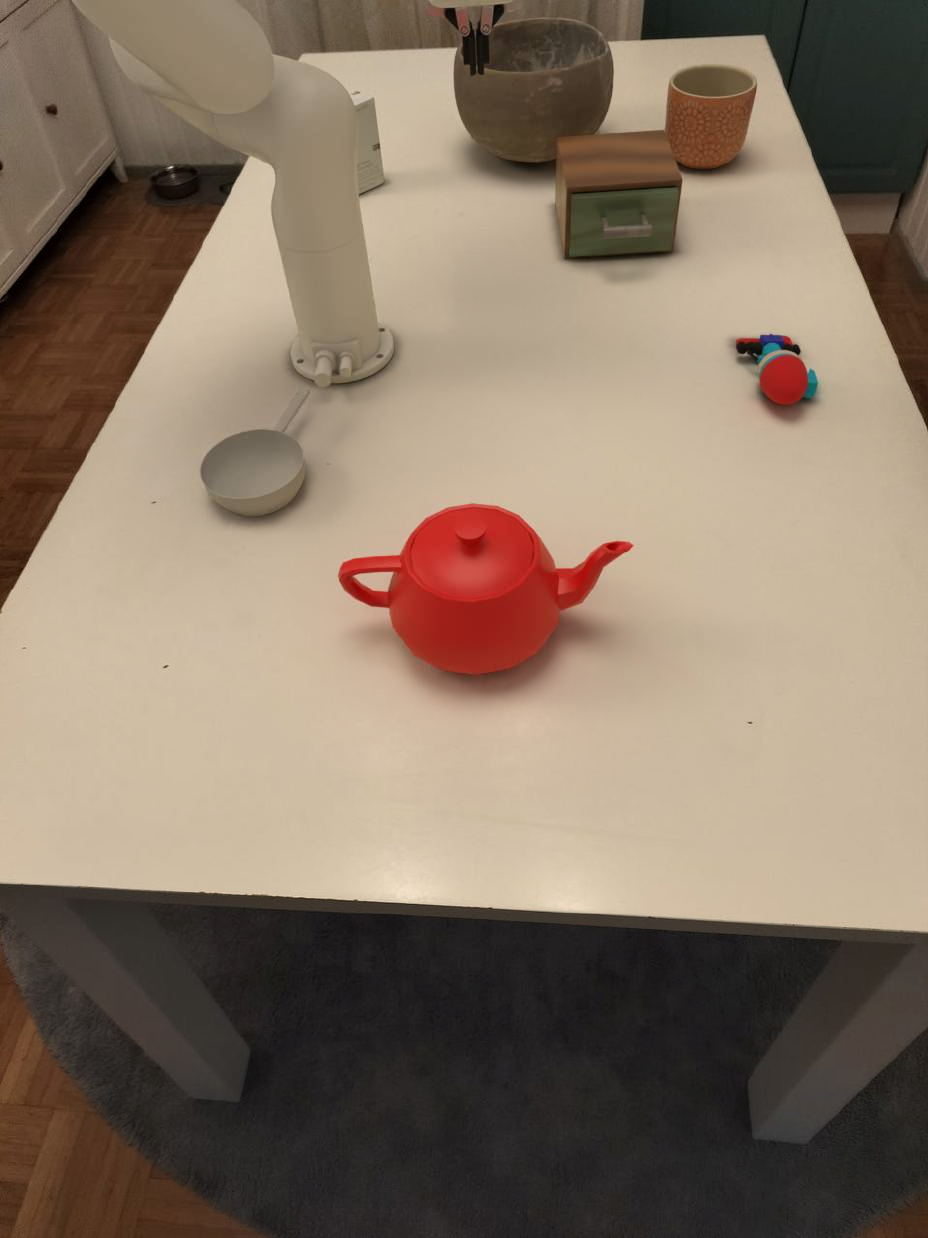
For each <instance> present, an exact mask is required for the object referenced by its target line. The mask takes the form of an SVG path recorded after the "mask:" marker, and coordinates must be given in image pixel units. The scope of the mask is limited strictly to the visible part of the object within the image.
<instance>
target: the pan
mask: <svg viewBox="0 0 928 1238" xmlns="http://www.w3.org/2000/svg"><path fill="white" fill-rule="evenodd" d="M310 394H311V388H308V387H301V388H299V390H298V391H297V393H296V394H295V396H294V397H293V399H292V400H291V402H290V403H289V404H288V406H287V407H286V409H285V410H284V412H283V413H282V415H281V416H280V418H279V419H278V420H277V422H276V424H275V425H274V426H273V428H256V429H249V430H243V431H240V432H237V433H234V434H232V435H230V436H227V437H225V438H224V439H221V441H219V442H217V443H216V444H214V445H213V446H212V447H210V449H209V450H208V451H207V452H206V453H205V455H204V456H203V458H202V459H201V460H202V461H201V462H200V467H199V477H200V480H201V482H202V484H203V486H204V488H205V490H206V492H207V493H208V495H209V496H210V497H211V499H212V500H214V501H215V502H216V503H217V504H219V505H220V506H221V507H223V508H225V509H227V510H228V511H230V512H231V513H234V514H236V515H239V516H244V517H260V516H264V515H269V514H272V513H274V512H277V511H279V510H281V509H283V508H284V507H286V506H287V505H289V503H291V502H292V501H293V500H294V499H295V497H296V496H297V495H298V492H299V490H300V488H301V486H302V484H303V481H304V479H305V475H306V458H305V453H304V449H303V447H302V445H301V443H300V442H299V441H298V439H297V438H295V437H293V436H292V435H291V434H288V433H286V432H285V431H286V430H287V429H288V427H289V425H290V424H291V423H292V422H293V419H295V416H296V415H297V414H298V412H299V411H300V409H301V408H302V406H303V405H304V403H305V402H306V400H307V398H309V396H310Z"/></svg>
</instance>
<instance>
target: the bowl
mask: <svg viewBox="0 0 928 1238" xmlns="http://www.w3.org/2000/svg"><path fill="white" fill-rule="evenodd" d="M474 32H475V52H476V74H475V75H474V76H470V65H464V61H463V41H462V40H461V42H460V43H459V44H458V46H457V49H456V51H455V54H454V61H453V91H454V99H455V103H456V108H457V112H458V115H459V117H460V120H461V122H462V124H463V126H464V128H465V130H466V131H467V133H468V134H469V135H470V137H471V139H473V140H474V141H475V142H476V143H477V145H478V146H479V147H481V148H482V149H483V150H484V151H486V152H488V153H490V154H492V155H493V156H495V157H497V158H500V159H504V160H507V161H514V162H520V163H521V162H522V163H543V162H549V161H555V160H556V147H557V137H566V136H581V135H595V134H597V132H598V131H599V130H600V127H601V126H602V125H603V122H604V121H605V120H606V117H607V115H608V112H609V109H610V106H611V104H612V103H611V102H612V98H613V91H614V78H615V77H614V75H615V69H614V58H613V54H612V50H611V46H610V45H609V42H608V40H607V38H606V37H605V35H604V34H603V33H602V32H601V31H600V30H599V29H598V28H596V27H595V26H593V25H592V24H590V23H587V22H584V21H581V20H577V19H571V18H565V17H546V16H544V17H532V18H531V17H530V18H522V19H516V20H515V19H514V20H509V21H504V22H499V23H496V24H495V25H494V26H493V28H492V29H491V32H490V33H489V59H490V63H488V64H484V75H480V74H478V69H477V49H476V31H474Z"/></svg>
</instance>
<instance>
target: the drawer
mask: <svg viewBox="0 0 928 1238" xmlns="http://www.w3.org/2000/svg"><path fill="white" fill-rule="evenodd" d="M678 193H679V191H678V188H677V187H671V188H669V186H667V187H652V188H637V189H634V190H626V191H611V192H597V191H592V192H577V193H573V194H571V211H570V238H569V255H570V257H574V256H590V255H605V254H621V253H636V252H652V251H667V250H671V246H672V239H673V231H674V224H675V216H676V208H677V201H678Z"/></svg>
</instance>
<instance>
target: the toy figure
mask: <svg viewBox="0 0 928 1238" xmlns="http://www.w3.org/2000/svg"><path fill="white" fill-rule="evenodd" d="M735 348H736V350H737V353H738V354H740V355H744V354H747V355H748V356H749V357H751V358H752V359H754V360H755V361H756V363H757V364H758V366H757V377H758V382H759V386H760V388H761V390H762V392H763V394H765V396H766V397H767V398H768V399H769V400H770V401H772V402H774V403H775V404H779V405H783V406H789V405H793V404H795V403H797V402H799V401H800V400H801V399H802V398H807V399H811V398H815V395H816V391H817V390H818V389H817V388H818V385H819V381H818V378H817V373H816V371H815V370H814V369H812V368H811V367H810V368H809V370H807V368H806V365H805V363H804V361H803V360H802V359H801V357H800V356H799V355H800V354H801V353H802V351H801V347H800V345H798V344H797V343H795V344H794V343H793V341H792V339H791V337H790V336H788V335H783V334H772V333H770V334H760V336H759V338H758V337H757V338H756V337H740V338H737V339H735Z"/></svg>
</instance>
